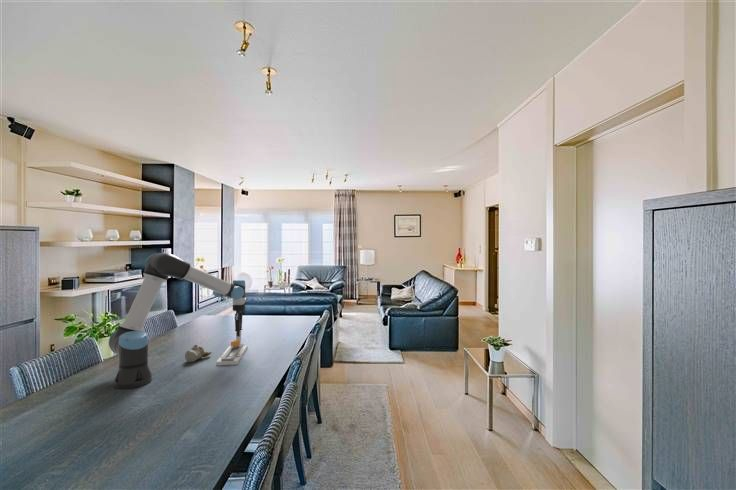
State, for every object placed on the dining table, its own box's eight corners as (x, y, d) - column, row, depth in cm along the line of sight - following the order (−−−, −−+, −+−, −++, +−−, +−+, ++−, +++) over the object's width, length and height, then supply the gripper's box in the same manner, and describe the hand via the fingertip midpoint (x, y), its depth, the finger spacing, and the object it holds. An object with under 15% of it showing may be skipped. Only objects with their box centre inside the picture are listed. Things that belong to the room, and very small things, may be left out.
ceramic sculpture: (179, 347, 196) (197, 341, 211) (178, 362, 196) (196, 356, 210) (196, 348, 194) (213, 342, 209) (195, 364, 194) (212, 357, 208)
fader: (239, 349, 214) (239, 341, 214) (230, 349, 214) (231, 341, 213) (240, 348, 217) (240, 340, 217) (232, 348, 216) (232, 340, 216)
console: (237, 364, 194) (237, 358, 194) (216, 365, 193) (216, 359, 193) (247, 348, 224) (247, 343, 224) (229, 348, 222) (229, 343, 222)
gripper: (242, 305, 217) (242, 343, 217) (246, 302, 230) (246, 338, 230) (230, 305, 216) (229, 344, 216) (235, 302, 229) (234, 338, 229)
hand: (238, 340), depth 223 cm, fingers closed
